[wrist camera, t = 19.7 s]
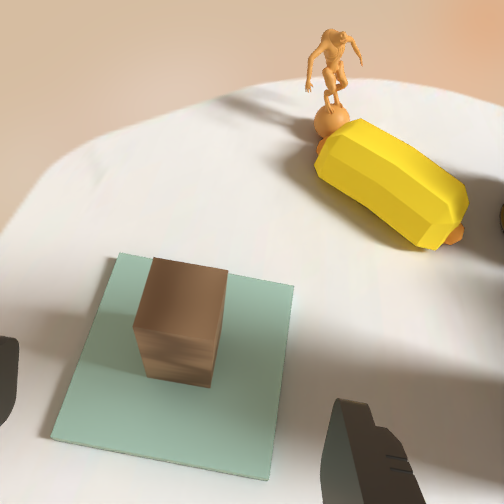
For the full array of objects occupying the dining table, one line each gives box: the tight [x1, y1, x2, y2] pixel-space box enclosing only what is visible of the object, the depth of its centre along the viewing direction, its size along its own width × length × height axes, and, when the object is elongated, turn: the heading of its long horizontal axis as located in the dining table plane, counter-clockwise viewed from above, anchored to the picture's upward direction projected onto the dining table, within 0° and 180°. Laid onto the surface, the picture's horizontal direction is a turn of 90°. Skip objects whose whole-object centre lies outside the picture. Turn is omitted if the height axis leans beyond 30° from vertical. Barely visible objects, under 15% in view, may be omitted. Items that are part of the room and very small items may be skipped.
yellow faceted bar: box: [314, 119, 469, 251], centre depth 48 cm, size 18×7×8 cm
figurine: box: [305, 29, 362, 138], centre depth 50 cm, size 8×6×12 cm
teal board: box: [50, 253, 294, 481], centre depth 39 cm, size 16×16×1 cm
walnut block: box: [132, 257, 228, 388], centre depth 34 cm, size 5×5×10 cm
